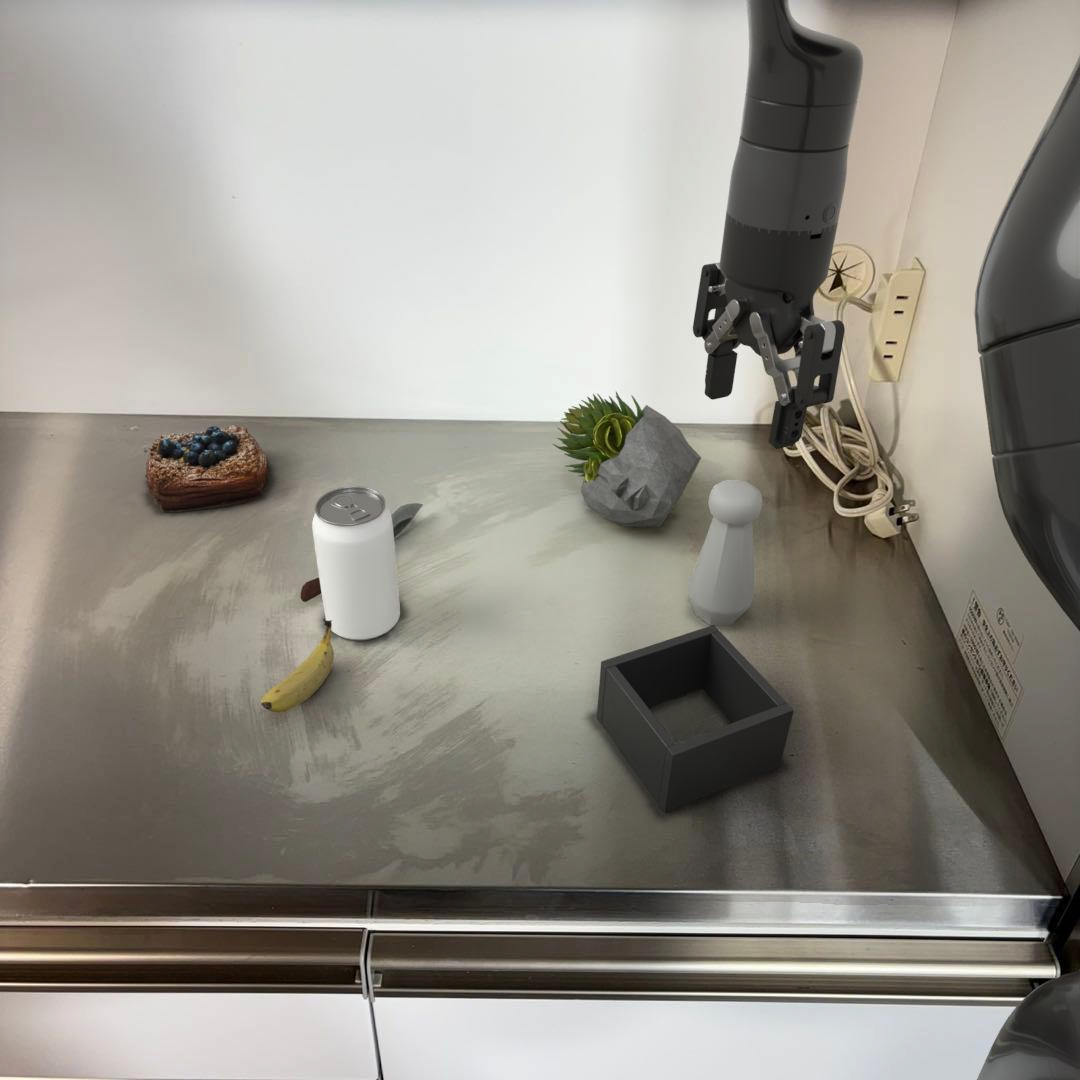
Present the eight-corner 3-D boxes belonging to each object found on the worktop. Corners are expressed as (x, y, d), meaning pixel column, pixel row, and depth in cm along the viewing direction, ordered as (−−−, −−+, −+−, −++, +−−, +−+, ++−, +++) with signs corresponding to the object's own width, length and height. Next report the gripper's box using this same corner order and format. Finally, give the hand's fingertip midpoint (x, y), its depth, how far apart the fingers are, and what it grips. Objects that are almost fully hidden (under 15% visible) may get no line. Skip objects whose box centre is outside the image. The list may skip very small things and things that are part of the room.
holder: (780, 766, 72) (794, 709, 69) (664, 813, 68) (672, 755, 65) (705, 680, 79) (714, 624, 76) (596, 717, 76) (600, 661, 72)
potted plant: (645, 542, 89) (512, 461, 92) (659, 552, 101) (541, 480, 105) (715, 430, 88) (578, 352, 92) (720, 453, 101) (599, 384, 104)
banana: (286, 743, 73) (279, 705, 71) (258, 735, 74) (250, 698, 71) (347, 656, 81) (342, 620, 78) (321, 650, 81) (316, 614, 79)
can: (375, 586, 88) (364, 474, 81) (415, 622, 84) (406, 508, 77) (312, 614, 85) (294, 500, 78) (350, 654, 81) (335, 537, 74)
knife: (417, 510, 99) (416, 485, 97) (430, 515, 98) (428, 490, 96) (298, 611, 85) (293, 585, 84) (311, 617, 85) (307, 590, 83)
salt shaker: (755, 633, 84) (780, 509, 77) (689, 633, 84) (707, 508, 76) (743, 591, 89) (765, 470, 81) (681, 590, 89) (697, 469, 81)
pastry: (149, 464, 105) (137, 416, 101) (262, 447, 108) (254, 400, 105) (151, 519, 96) (138, 469, 93) (274, 499, 100) (266, 450, 96)
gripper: (679, 187, 70) (659, 390, 79) (804, 248, 59) (764, 474, 69) (764, 176, 72) (735, 374, 82) (898, 233, 62) (847, 452, 71)
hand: (748, 419), depth 75 cm, fingers open, 8 cm apart
